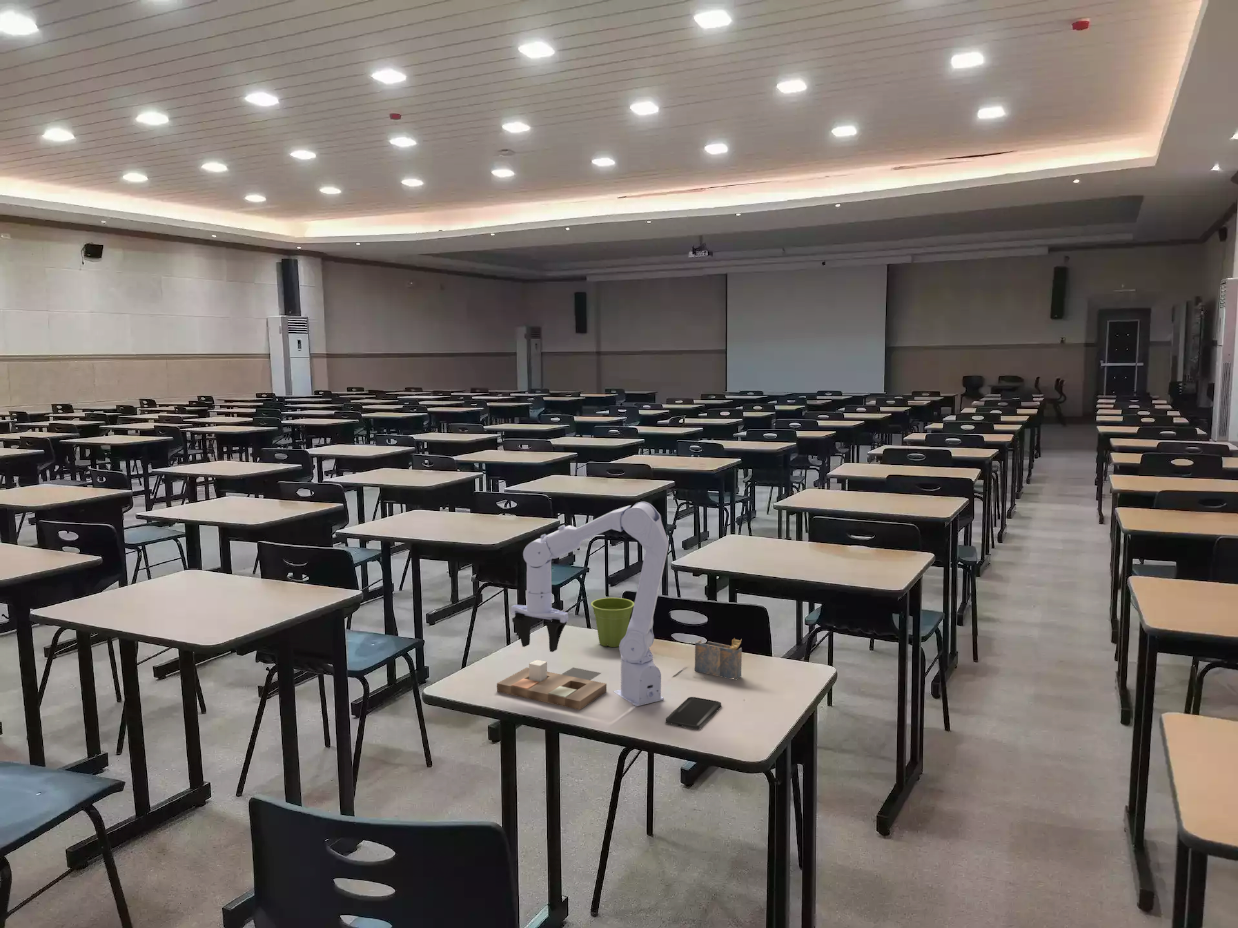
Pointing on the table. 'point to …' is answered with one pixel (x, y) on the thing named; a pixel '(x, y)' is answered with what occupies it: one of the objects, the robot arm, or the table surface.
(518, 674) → the socket block
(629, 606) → the plant pot
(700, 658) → the weathered storage box
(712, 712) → the phone
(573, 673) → the grey square plate
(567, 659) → the table surface
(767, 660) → the table surface
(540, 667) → the plug
